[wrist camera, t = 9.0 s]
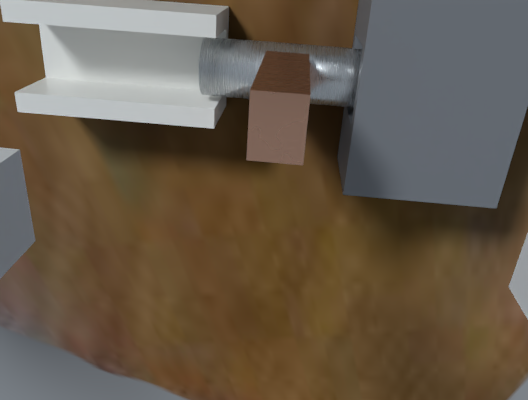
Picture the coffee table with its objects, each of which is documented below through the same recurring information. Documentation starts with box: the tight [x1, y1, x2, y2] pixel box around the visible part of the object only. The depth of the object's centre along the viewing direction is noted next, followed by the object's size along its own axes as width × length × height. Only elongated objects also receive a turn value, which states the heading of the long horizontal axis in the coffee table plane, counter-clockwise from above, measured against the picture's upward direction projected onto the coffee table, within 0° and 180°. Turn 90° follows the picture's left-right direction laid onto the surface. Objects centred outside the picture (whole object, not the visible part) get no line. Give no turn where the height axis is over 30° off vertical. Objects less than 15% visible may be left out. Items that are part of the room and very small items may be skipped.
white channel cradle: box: [0, 0, 229, 129], centre depth 31 cm, size 6×12×5 cm, turn 86°
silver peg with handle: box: [199, 37, 362, 165], centre depth 26 cm, size 3×16×12 cm, turn 86°
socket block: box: [337, 0, 528, 208], centre depth 30 cm, size 12×9×6 cm
